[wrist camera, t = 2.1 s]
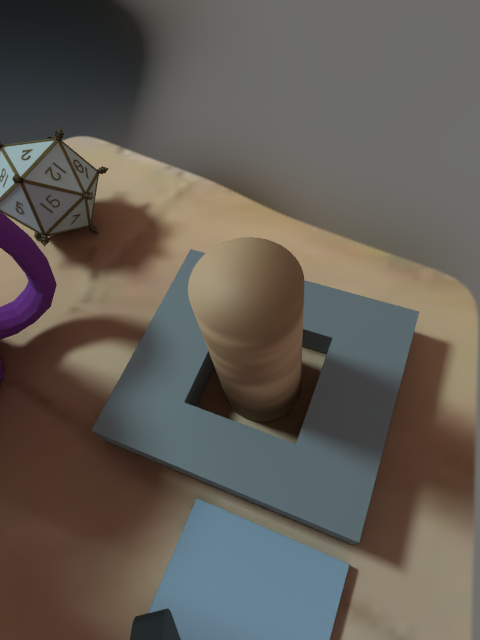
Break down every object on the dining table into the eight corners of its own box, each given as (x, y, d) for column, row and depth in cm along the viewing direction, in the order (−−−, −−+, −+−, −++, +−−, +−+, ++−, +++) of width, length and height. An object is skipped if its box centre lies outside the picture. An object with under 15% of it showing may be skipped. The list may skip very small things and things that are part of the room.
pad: (124, 675, 23) (121, 677, 23) (198, 499, 27) (196, 498, 26) (293, 772, 21) (293, 776, 20) (348, 564, 25) (349, 564, 24)
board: (106, 441, 29) (91, 430, 27) (197, 269, 35) (190, 249, 33) (353, 545, 25) (359, 542, 23) (410, 330, 31) (419, 311, 29)
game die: (66, 250, 42) (-35, 167, 37) (131, 185, 41) (37, 91, 36) (59, 289, 35) (-69, 192, 29) (139, 211, 34) (20, 96, 28)
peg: (212, 406, 30) (168, 315, 19) (241, 340, 32) (215, 226, 21) (285, 433, 28) (280, 351, 18) (310, 363, 30) (319, 253, 20)
